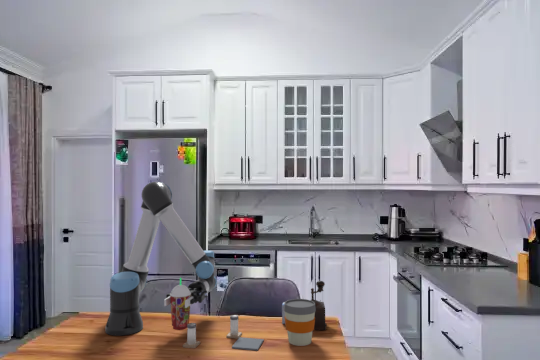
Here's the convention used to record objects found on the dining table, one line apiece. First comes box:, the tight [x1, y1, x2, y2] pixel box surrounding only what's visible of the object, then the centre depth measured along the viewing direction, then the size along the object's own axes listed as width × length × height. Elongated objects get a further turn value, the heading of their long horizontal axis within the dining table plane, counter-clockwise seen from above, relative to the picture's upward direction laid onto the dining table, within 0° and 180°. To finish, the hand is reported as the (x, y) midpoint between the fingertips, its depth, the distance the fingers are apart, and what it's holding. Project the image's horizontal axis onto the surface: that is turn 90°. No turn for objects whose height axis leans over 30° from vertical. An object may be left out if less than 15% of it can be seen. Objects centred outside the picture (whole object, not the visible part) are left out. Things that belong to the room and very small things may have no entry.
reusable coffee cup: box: [284, 298, 316, 347], centre depth 160 cm, size 13×13×15 cm
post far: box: [226, 314, 243, 340], centre depth 166 cm, size 5×5×8 cm
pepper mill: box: [310, 280, 327, 331], centre depth 180 cm, size 16×11×18 cm
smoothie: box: [169, 277, 191, 331], centre depth 164 cm, size 8×8×20 cm
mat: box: [231, 336, 265, 351], centre depth 157 cm, size 10×10×1 cm
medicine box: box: [281, 301, 286, 325], centre depth 182 cm, size 8×4×9 cm, turn 84°
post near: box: [182, 322, 201, 349], centre depth 156 cm, size 5×5×8 cm
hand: (175, 303), depth 159 cm, fingers closed on smoothie, 8 cm apart
